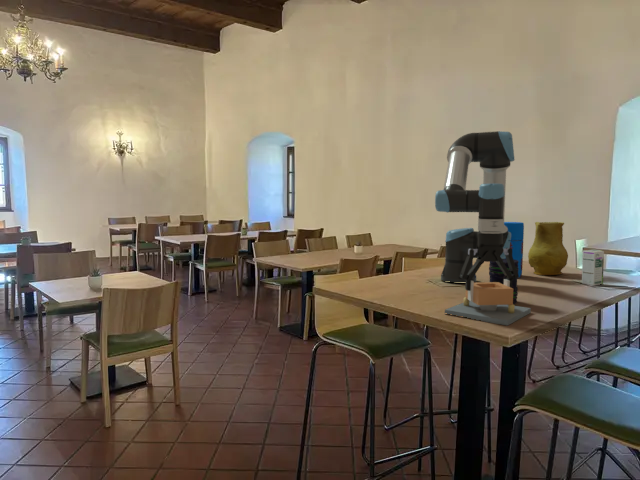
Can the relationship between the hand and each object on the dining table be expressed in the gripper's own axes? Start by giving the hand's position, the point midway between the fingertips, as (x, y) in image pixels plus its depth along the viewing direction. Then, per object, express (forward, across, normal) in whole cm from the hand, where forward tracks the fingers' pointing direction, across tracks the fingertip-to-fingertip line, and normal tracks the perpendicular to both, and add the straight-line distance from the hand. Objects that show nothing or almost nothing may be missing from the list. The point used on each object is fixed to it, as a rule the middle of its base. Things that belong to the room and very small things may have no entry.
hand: (488, 300), depth 153 cm
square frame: (0, 0, 0) cm, 0 cm away
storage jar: (+5, +12, +16) cm, 21 cm away
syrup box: (+5, +64, +45) cm, 78 cm away
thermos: (+5, +38, +68) cm, 78 cm away
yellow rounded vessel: (+5, +59, +71) cm, 93 cm away
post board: (+4, 0, 0) cm, 4 cm away
